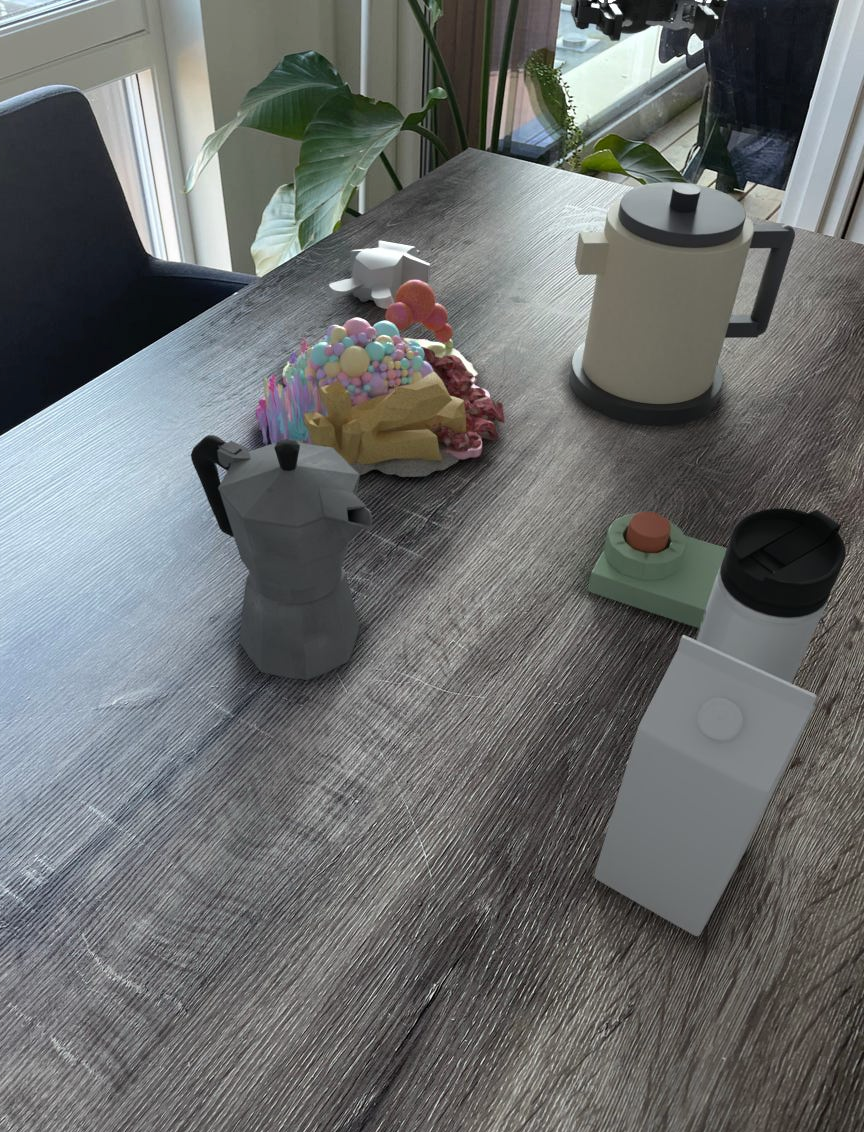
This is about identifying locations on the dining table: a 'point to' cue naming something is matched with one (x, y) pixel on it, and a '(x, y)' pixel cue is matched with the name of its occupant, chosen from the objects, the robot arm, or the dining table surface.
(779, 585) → the travel mug
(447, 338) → the pastel sphere sculpture
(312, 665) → the coffeepot
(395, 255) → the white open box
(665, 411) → the kettle
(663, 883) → the milk carton
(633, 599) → the button base
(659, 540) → the red button cap
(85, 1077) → the dining table surface
